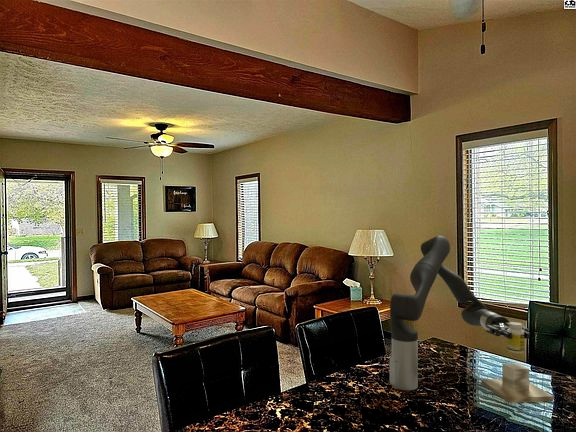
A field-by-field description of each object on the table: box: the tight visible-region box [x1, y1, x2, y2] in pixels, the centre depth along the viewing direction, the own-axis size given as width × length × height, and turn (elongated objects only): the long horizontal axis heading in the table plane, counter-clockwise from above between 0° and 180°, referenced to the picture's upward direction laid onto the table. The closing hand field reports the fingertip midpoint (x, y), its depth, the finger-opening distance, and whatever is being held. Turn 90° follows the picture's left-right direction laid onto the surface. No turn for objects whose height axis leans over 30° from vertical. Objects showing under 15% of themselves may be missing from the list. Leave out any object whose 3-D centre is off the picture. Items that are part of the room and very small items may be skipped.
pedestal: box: [480, 362, 554, 404], centre depth 147 cm, size 16×16×9 cm
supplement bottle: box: [506, 321, 525, 354], centre depth 147 cm, size 5×5×10 cm
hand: (519, 336), depth 145 cm, fingers closed on supplement bottle, 5 cm apart
